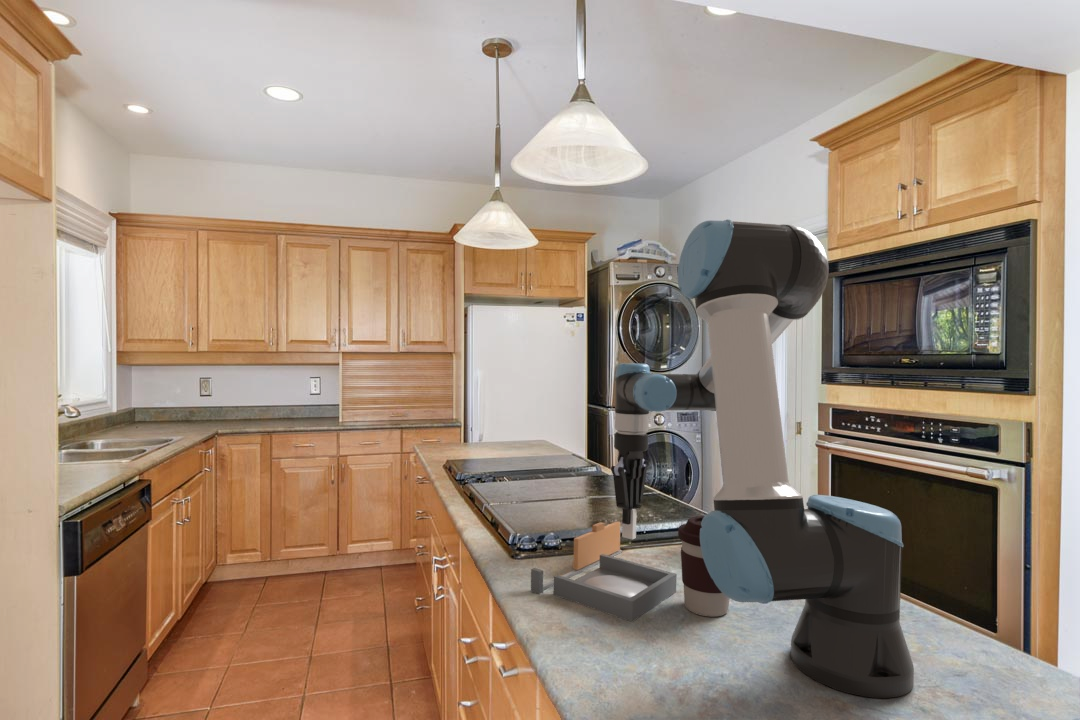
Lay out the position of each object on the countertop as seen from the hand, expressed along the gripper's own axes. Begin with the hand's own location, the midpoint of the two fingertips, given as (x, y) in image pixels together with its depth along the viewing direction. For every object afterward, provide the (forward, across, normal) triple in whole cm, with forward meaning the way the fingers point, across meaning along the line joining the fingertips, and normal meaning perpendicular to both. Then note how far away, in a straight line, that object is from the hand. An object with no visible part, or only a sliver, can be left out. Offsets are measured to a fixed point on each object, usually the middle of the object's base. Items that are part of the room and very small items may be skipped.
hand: (628, 537), depth 131 cm
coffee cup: (+3, +18, +26) cm, 32 cm away
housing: (+2, +18, +9) cm, 21 cm away
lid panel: (+2, +13, 0) cm, 13 cm away
